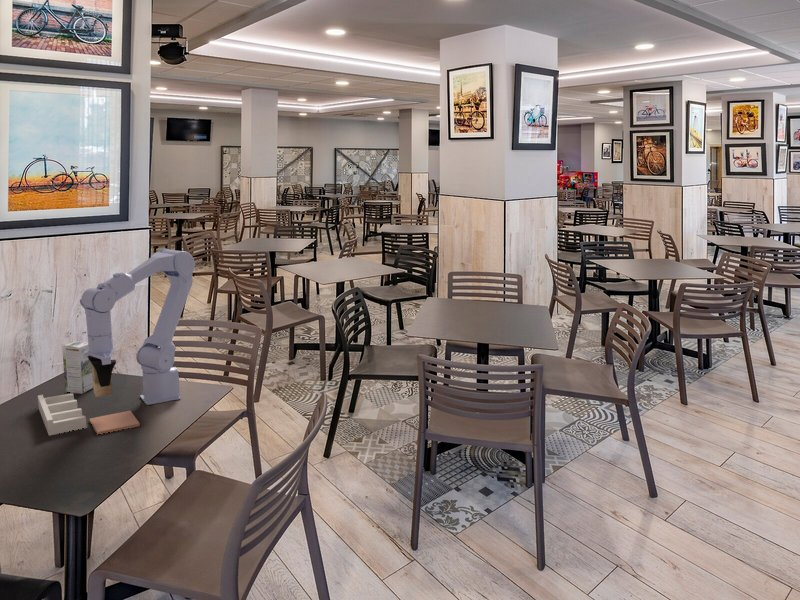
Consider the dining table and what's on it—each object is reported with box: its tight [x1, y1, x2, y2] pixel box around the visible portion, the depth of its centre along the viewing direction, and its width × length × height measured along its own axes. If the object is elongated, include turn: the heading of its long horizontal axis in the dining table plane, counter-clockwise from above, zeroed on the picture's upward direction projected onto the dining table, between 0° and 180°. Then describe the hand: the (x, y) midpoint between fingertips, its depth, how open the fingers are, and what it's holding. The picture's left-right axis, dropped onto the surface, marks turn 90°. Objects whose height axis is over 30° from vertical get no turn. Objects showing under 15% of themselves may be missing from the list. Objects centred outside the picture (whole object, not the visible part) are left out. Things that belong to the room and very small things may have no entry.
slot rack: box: [37, 393, 88, 437], centre depth 154 cm, size 8×20×4 cm, turn 37°
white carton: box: [61, 340, 93, 395], centre depth 173 cm, size 6×6×14 cm
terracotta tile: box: [89, 410, 141, 436], centre depth 153 cm, size 10×10×1 cm
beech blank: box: [91, 364, 114, 398], centre depth 155 cm, size 4×4×8 cm
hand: (103, 383), depth 155 cm, fingers closed on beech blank, 4 cm apart
